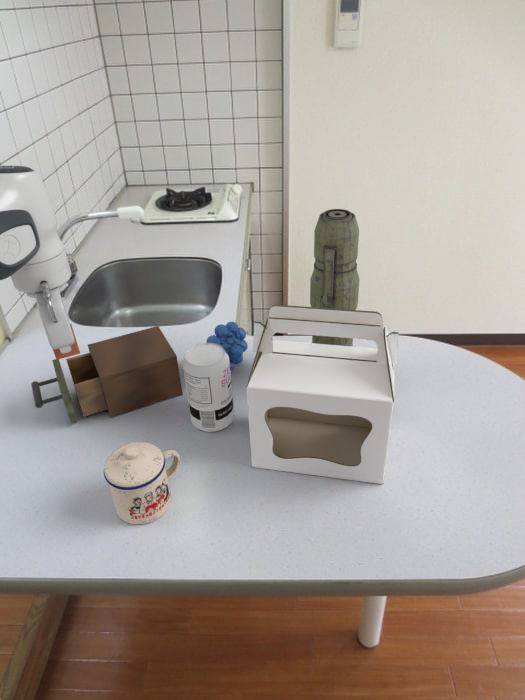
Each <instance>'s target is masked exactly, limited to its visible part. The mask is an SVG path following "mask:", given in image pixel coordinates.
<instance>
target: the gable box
mask: <svg viewBox="0 0 525 700" xmlns="http://www.w3.org/2000/svg"><path fill="white" fill-rule="evenodd" d="M383 320H384V319H383V316H382V314H381V313H380V312H378V311H375V310H361V309H360V310H359V309H356V310H346V309H332V308H317V307H311V306H303V305H302V306H300V305H288V304H287V305H286V304H274V305H272V306H271V307H270V309H269V311H268V317H267V319H266V321H265V324H263V322H261V321H257V320H255V321H254V322H253V338H252V339H253V340H252V343H253V344H252V352H255V356H254V359H253V362H252V366H251V369H250V373H249V376H248V379H247V381H246V382H247V383H246V386H245V390H246V405H247V415H248V416H247V417H248V418H247V419H248V428H249V429H248V430H249V443H250V457H251V466H252V467H253V468H256V469H264V470H271V471H280V472H287V473H294V474H295V473H296V474H301V475H311V476H316V477H317V476H319V477H325V478H333V479H341V480H349V481H356V482H362V483H372V484H379V485H383V484H384V483H385V478H386V477H385V475H386V470H387V469H386V468H387V461H388V453H389V447H390V446H389V445H390V438H391V437H390V436H391V430H392V422H393V414H394V407H395V371H396V368H395V367H396V366H395V365H398V364H399V332H398V331H391V332H389V330H388V328H387V326H385V327H384V321H383ZM276 333H278V334H292V335H306V336H312V335H317V336H330V337H342V338H353V339H355V340H357V339H358V340H366V341H373V342H375V344H376V346H377V348H375V347H364V346H353V345H352V346H340V345H328V344H316V343H312V342H302V341H289V340H279V339H273V337H274V335H275V334H276Z"/></svg>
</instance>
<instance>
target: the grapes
mask: <svg viewBox="0 0 525 700" xmlns="http://www.w3.org/2000/svg"><path fill="white" fill-rule="evenodd" d="M246 337H247V332H246V330H245V329H244V328H243V327H240V326H239V325H238V324H237V322H236V321H233V320H232V321H228V322H227V323H226V324H223V323H221V324H217V325H216V326H215V328H214V334H212V335H209V336H208V337H207V338H206V342H205V343H214V344H218V345H220V346H222V347H223V349H224V350H225V352H226V354H227V355H228V356H229V361H230V372H231V371H233V370H234V368H235V365H240V364H241V363H242V362H243V360H244V356H243V355H244V353H245V352H246V351H247V350H248V342H247V341H246V340H245V338H246Z"/></svg>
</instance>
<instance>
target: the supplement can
mask: <svg viewBox="0 0 525 700" xmlns="http://www.w3.org/2000/svg"><path fill="white" fill-rule="evenodd" d="M182 371H183V377H184V385H185V390H186V396H187V404H188V411H189V416H190V422H191V424H192V425H193V427H194V428H196V429H198V430H199V431H200V430H201V431H203V432H207V433H214V432H219V431H222V430H224V429H226V428H227V427H229V426H230V425H231V424H232V423H233V421H234V419H235V417H236V416H235V407H234V396H233V395H234V394H233V385H232V375H231V374H232V373H231V371H230V361H229V356H228V355H227V354H226V352H225V350H224V349H223V347H222V346H220V345H218V344H214V343H206V342H201V343H198V344H195V345H193V346H191V347H189V348H188V349H187V350H186V352H185V353H184V357H183V360H182Z"/></svg>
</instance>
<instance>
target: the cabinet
mask: <svg viewBox="0 0 525 700" xmlns="http://www.w3.org/2000/svg"><path fill="white" fill-rule="evenodd" d="M87 349H88V353H90V354H91V356H92V359H93V362H94V364H95V367H96V370H97V372H98V375H99V378H100V381H101V385H102V388H103V392H104V396H105V399H106V403H107V407H108V409H107V411H108V412H107V413H108V415H109V418H115V417H118V416H121V415H124V414H128V413H130V412H134V411H137V410H140V409H143V408H146V407H149V406H152V405H155V404H159V403H162V402H164V401H168V400H172V399H174V398H177V397H180V396H183V395H184V393H183V386H182V379H181V375H180V367H179V360H178V355H177V354H176V352H175V351H174V349H173V347H172V346H171V344H170V342H169V340H168V339H167V338H166V336H165V335H164V333H163V331H162V330H161V328H160V326H159V325H155V326H152V327H147V328H144V329H142V330H137V331H134V332H130V333H126V334H122V335H117V336H115V337H112V338H108V339H103V340H100V341H97V342H93V343H89V344H87Z"/></svg>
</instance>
